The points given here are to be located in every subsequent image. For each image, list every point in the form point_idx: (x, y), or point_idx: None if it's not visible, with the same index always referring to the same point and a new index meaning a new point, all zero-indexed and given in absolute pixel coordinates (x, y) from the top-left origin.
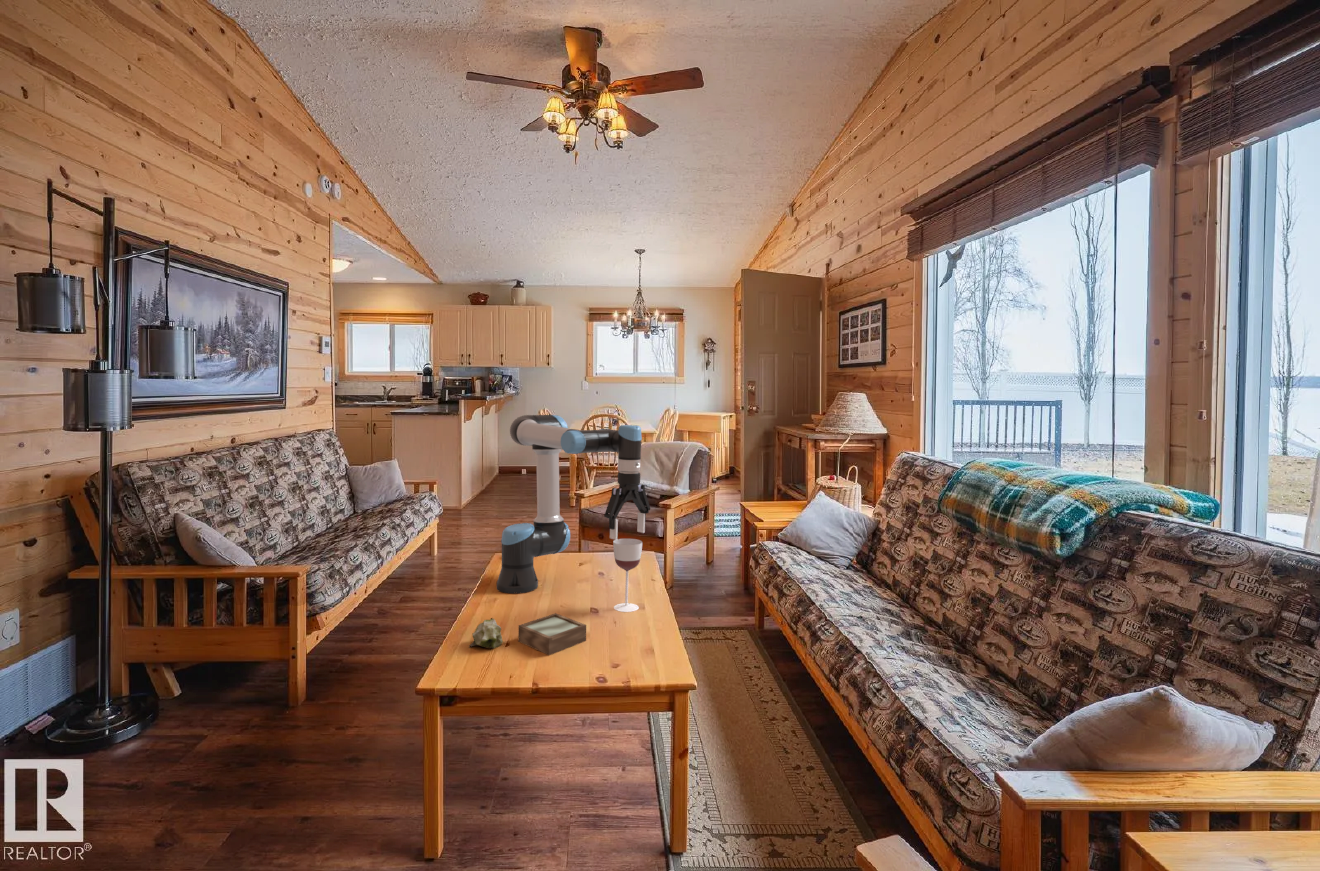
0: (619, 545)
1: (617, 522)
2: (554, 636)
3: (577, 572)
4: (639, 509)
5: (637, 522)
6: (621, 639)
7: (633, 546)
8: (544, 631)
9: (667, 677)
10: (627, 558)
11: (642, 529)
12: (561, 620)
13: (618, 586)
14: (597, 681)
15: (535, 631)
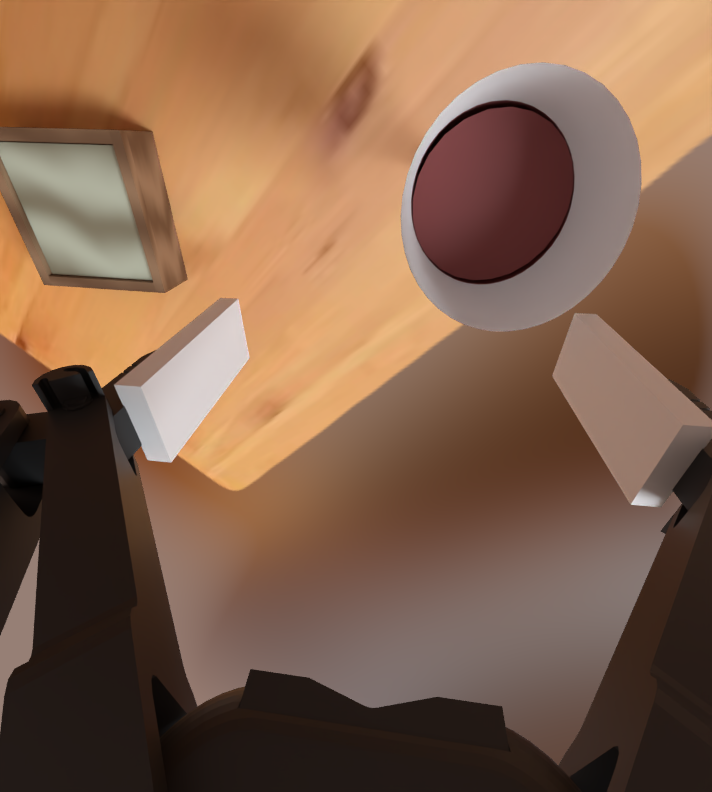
0: (401, 227)
1: (185, 438)
2: (60, 284)
3: None
4: (705, 489)
5: (614, 353)
6: (261, 337)
7: (449, 313)
8: (49, 226)
9: (225, 473)
10: (424, 261)
11: (564, 382)
12: (122, 195)
13: None
14: None
15: (17, 216)
